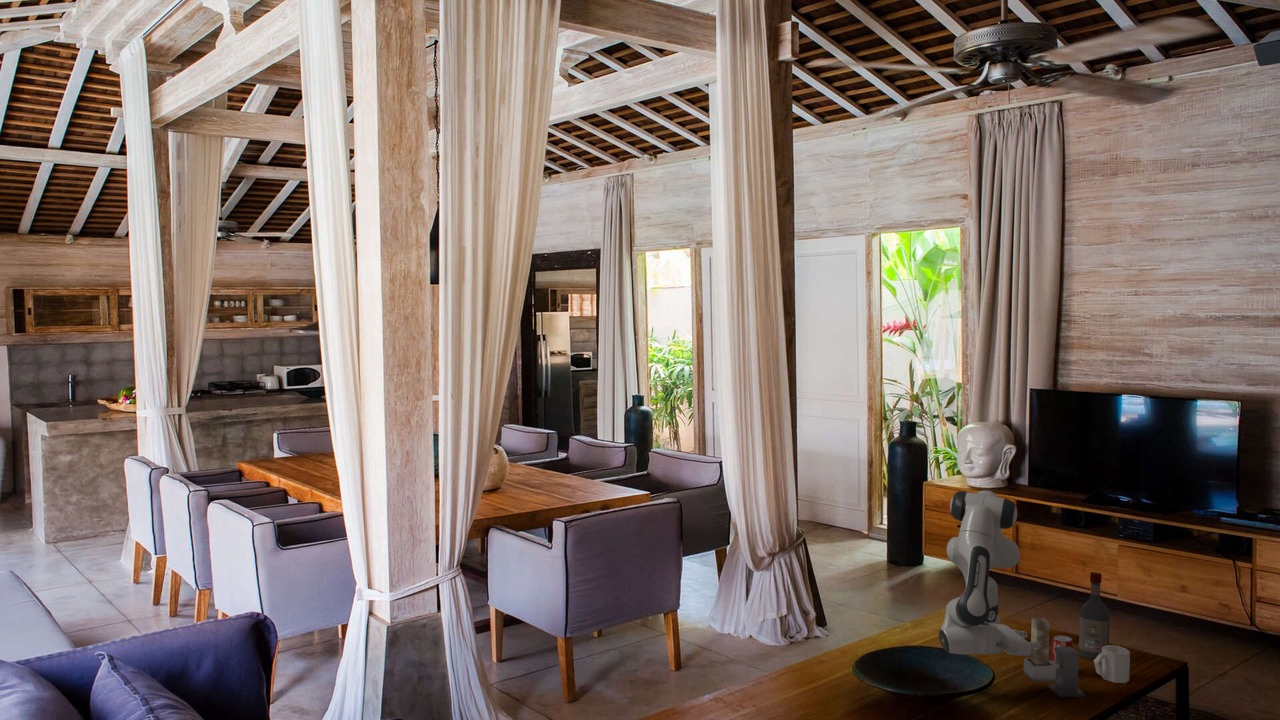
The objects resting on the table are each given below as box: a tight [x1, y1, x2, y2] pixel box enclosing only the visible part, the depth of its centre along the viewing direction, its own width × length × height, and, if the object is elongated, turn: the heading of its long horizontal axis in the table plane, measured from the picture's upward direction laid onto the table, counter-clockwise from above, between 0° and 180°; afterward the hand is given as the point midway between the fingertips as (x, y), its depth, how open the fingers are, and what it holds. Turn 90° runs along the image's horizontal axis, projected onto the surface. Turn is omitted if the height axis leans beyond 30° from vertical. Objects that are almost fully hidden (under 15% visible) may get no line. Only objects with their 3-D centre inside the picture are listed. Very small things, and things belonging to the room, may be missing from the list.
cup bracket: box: [1023, 647, 1085, 698], centre depth 307 cm, size 17×8×14 cm, turn 92°
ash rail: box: [1030, 617, 1050, 666], centre depth 306 cm, size 4×4×18 cm
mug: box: [1093, 644, 1131, 684], centre depth 318 cm, size 12×9×10 cm
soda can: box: [1050, 634, 1075, 661], centre depth 324 cm, size 7×7×12 cm
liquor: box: [1078, 571, 1111, 661], centre depth 339 cm, size 9×9×30 cm
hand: (1032, 639), depth 306 cm, fingers open, 8 cm apart
